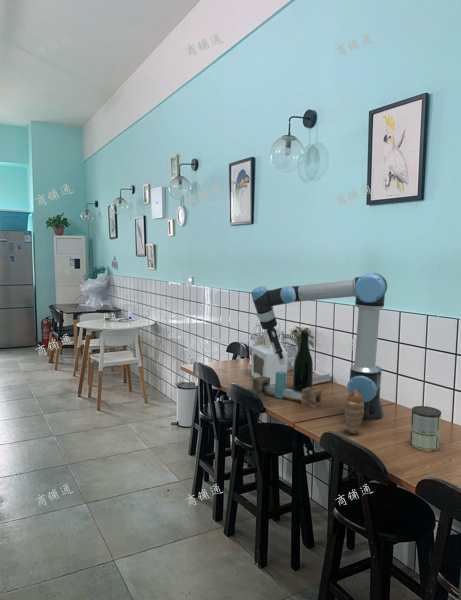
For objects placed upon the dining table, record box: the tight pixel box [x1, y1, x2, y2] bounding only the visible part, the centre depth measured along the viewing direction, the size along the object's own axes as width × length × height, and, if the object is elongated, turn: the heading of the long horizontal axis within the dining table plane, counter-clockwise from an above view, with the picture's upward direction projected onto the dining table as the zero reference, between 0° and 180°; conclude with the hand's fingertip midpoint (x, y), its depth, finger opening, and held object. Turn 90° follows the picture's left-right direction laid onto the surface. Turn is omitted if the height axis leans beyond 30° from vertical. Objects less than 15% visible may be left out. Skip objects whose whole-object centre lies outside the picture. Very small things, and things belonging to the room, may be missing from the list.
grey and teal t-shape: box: [262, 371, 302, 401], centre depth 233 cm, size 28×4×13 cm, turn 53°
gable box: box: [250, 329, 289, 385], centre depth 269 cm, size 22×13×28 cm, turn 19°
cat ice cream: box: [343, 389, 364, 435], centre depth 187 cm, size 9×8×18 cm
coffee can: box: [409, 405, 442, 450], centre depth 176 cm, size 10×10×14 cm
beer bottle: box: [292, 329, 314, 392], centre depth 246 cm, size 10×10×33 cm
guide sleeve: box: [300, 386, 323, 409], centre depth 224 cm, size 7×7×8 cm
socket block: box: [251, 376, 271, 397], centre depth 241 cm, size 5×9×8 cm, turn 143°
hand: (280, 358), depth 223 cm, fingers open, 13 cm apart
